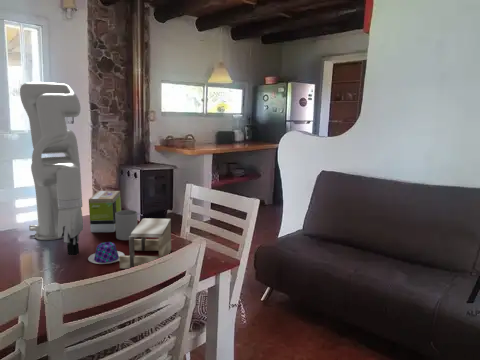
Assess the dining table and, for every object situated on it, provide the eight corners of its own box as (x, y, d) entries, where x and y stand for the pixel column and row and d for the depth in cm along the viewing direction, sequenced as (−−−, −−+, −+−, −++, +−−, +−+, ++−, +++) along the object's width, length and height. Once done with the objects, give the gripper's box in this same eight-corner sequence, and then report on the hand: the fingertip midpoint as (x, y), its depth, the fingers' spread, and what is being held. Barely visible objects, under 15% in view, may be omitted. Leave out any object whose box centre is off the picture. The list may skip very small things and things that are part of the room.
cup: (140, 233, 160) (140, 210, 158) (133, 240, 152) (132, 216, 150) (121, 232, 160) (120, 209, 159) (112, 239, 152) (111, 215, 151)
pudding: (129, 261, 132) (128, 246, 131) (93, 268, 126) (92, 253, 125) (118, 250, 142) (118, 236, 141) (84, 256, 135) (83, 242, 134)
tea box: (99, 222, 175) (98, 190, 172) (122, 222, 175) (121, 190, 173) (89, 232, 160) (88, 198, 157) (114, 232, 161) (113, 198, 158)
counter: (119, 268, 125) (118, 233, 123) (133, 249, 143) (132, 217, 140) (162, 269, 126) (162, 234, 123) (171, 249, 143) (170, 218, 141)
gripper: (68, 197, 137) (71, 246, 141) (48, 208, 123) (52, 262, 126) (89, 198, 137) (92, 246, 141) (72, 208, 123) (75, 263, 126)
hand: (73, 254), depth 133 cm, fingers closed
